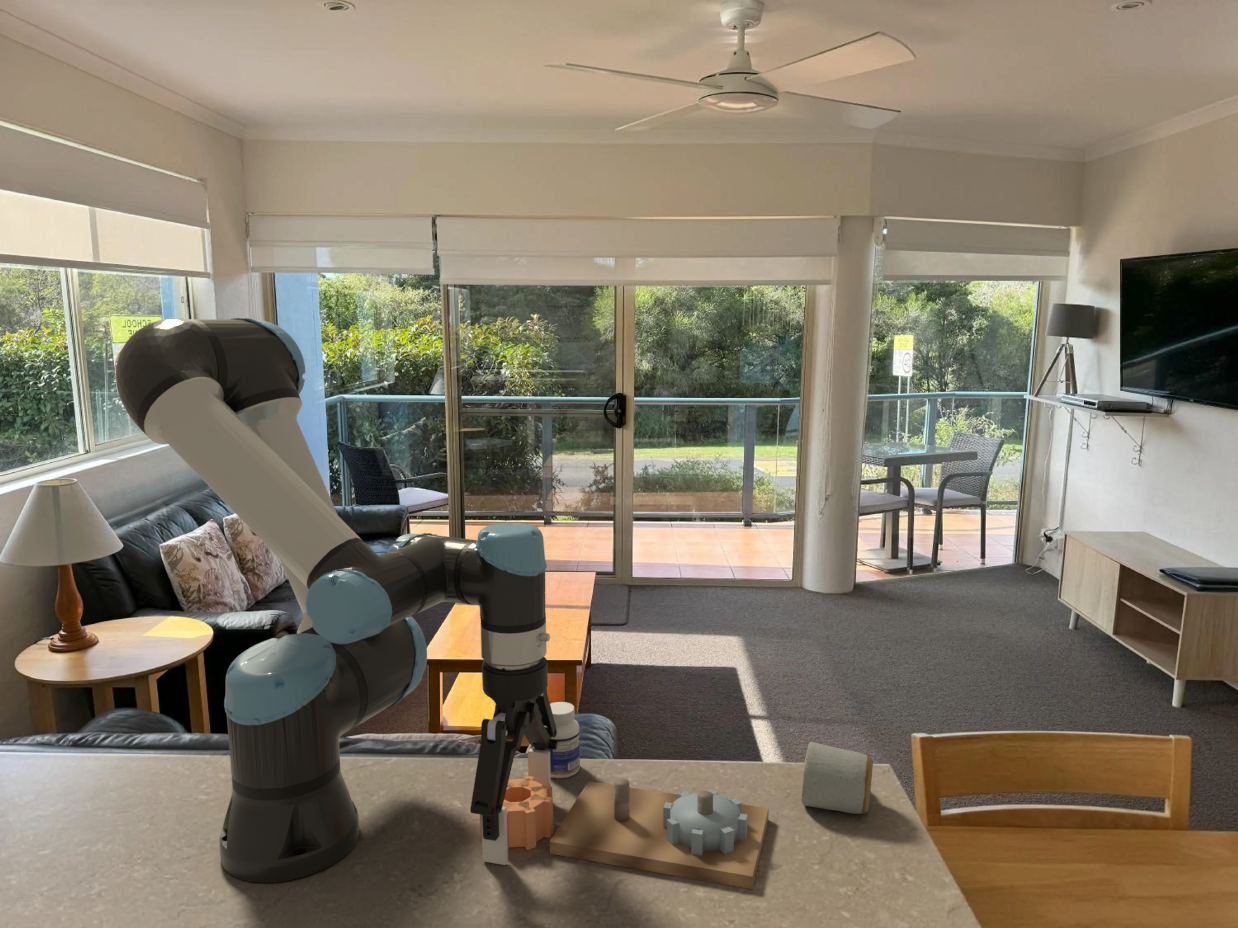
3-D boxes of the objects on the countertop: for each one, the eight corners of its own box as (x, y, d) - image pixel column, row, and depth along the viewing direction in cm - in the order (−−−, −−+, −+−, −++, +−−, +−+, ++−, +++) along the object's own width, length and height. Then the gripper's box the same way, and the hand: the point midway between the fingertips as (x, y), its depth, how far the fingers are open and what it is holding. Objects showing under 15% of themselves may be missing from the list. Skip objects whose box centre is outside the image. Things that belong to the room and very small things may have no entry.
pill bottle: (537, 763, 121) (536, 702, 120) (574, 757, 123) (573, 697, 122) (545, 782, 116) (544, 718, 115) (584, 775, 118) (583, 713, 117)
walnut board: (549, 853, 101) (549, 804, 100) (588, 791, 114) (588, 748, 113) (752, 889, 94) (753, 837, 93) (768, 819, 107) (769, 773, 107)
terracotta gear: (467, 843, 103) (465, 807, 102) (498, 804, 111) (497, 771, 110) (537, 856, 100) (537, 819, 99) (564, 815, 108) (563, 781, 108)
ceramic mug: (869, 827, 106) (872, 767, 105) (800, 816, 108) (802, 757, 107) (872, 785, 116) (874, 730, 115) (808, 776, 118) (810, 721, 117)
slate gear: (654, 847, 99) (654, 826, 99) (673, 803, 108) (673, 784, 108) (739, 861, 97) (740, 840, 96) (752, 815, 106) (752, 795, 105)
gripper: (500, 705, 89) (505, 897, 92) (580, 626, 113) (582, 781, 116) (433, 697, 91) (441, 885, 95) (525, 621, 115) (529, 773, 118)
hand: (519, 828), depth 105 cm, fingers open, 13 cm apart
